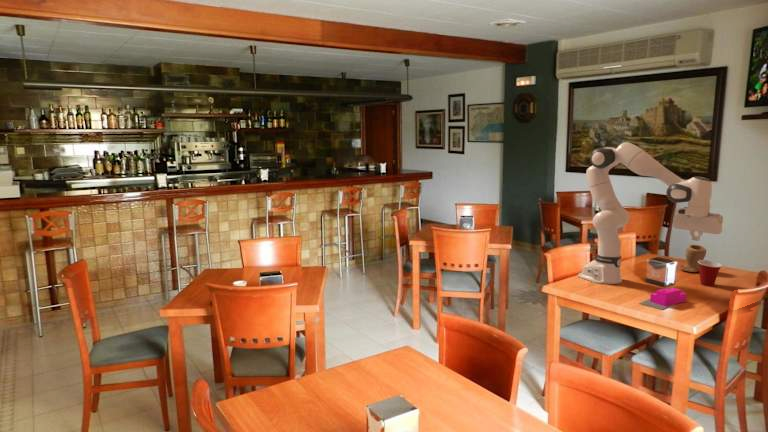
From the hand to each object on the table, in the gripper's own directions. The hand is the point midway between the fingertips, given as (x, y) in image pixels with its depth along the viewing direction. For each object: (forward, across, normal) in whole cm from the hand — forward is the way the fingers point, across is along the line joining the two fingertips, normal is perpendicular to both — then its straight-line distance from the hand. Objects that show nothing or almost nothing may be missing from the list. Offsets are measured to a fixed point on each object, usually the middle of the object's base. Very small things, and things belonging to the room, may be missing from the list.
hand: (695, 240), depth 238 cm
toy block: (+25, 0, +15) cm, 29 cm away
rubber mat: (+28, +6, +15) cm, 33 cm away
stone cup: (+29, +20, -52) cm, 62 cm away
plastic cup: (+29, +3, -29) cm, 41 cm away
